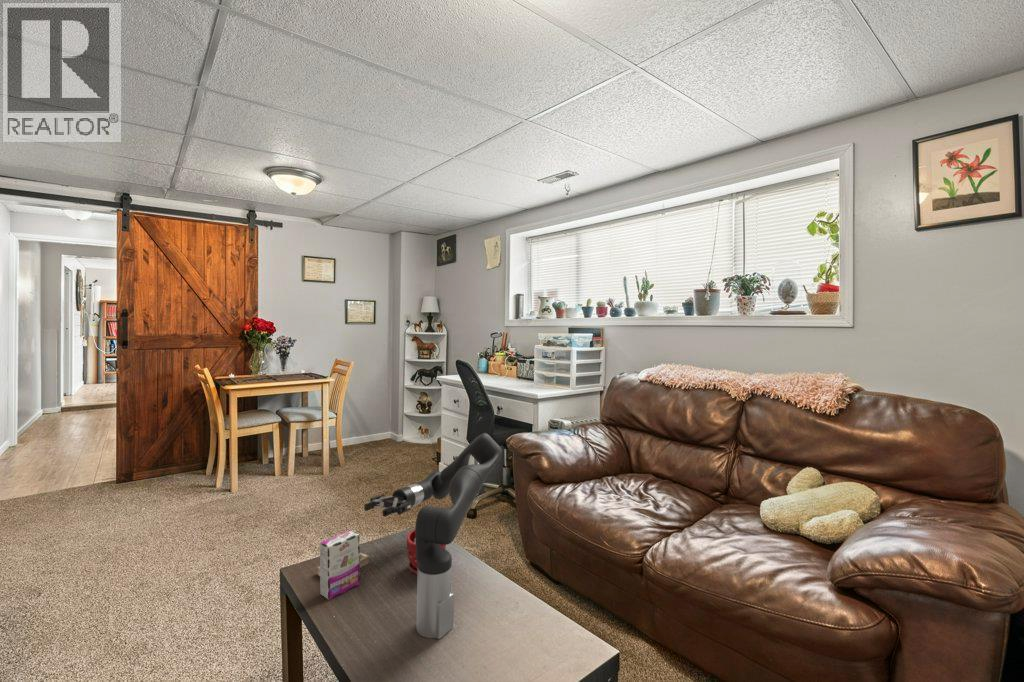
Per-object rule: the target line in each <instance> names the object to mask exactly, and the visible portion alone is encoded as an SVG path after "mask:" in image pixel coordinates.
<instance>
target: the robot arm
mask: <svg viewBox="0 0 1024 682" xmlns="http://www.w3.org/2000/svg"><path fill="white" fill-rule="evenodd" d="M502 455H503V449H502V448H501V446H500V445H499V444H498V443H497V442H496V441H495V440H494V439H493V438H492V437H491V436H490V435H489V434H488V433H486V432H483V433H480V434H479V435H477V436H476V437H475V438H474V439H473V440H472V441H471V442H470V443H469V444H468V445H467V446H466V447H465V449H463V450H462V451H461V453H460V454H459V455H458V456H457V457H456V458H455V459H454V460H453V461H452V462H451V463H449V464H448V465H447V466H446V467H444V469H442V470H441V471H440V470H439V471H438V470H435V471H432V472H431V473H430V474H428V476H427V477H426V478H425V479H423V480H421V481H419V482H416V483H414V484H410V485H405V486H404V487H400V488H399V489H398V488H397V489H396V490H395V491H394V492H393V493H392V495H388V496H385V494H380V495H376V496H374V497H370V501H369V502H367V503H365V504H364V507H363V508H364V509H363V510H364V511H366V512H367V511H368V512H369V510H372V509H375V508H379V509H383V510H382V517H387V516H390V515H395V514H397V515H398V516H399V515H402V514H404V513H407V512H409V511H410V510H411V508H414V507H415V506H417V505H419V504H420V503H423V502H426V501H427V500H430V499H431V498H432V497H433V498H434V499H435V500H443V499H445V498H446V497H447V496H448V495H449V497H450V500H451V502H452V505H451V506H450V507H442V506H441V507H439V506H433V505H425V506H422V507H421V508H420V510H419V511H418V513H417V515H416V519H415V527H414V530H415V537H416V538H415V543H416V559H417V563H418V565H417V574H416V575H417V576H416V579H417V580H416V632H417V633H418V635H420V636H421V637H423V638H427V639H437V640H440V639H442V638H443V637H444V636H445V635H446V634H447V633H448V632H450V631H451V630H452V629H453V628H454V617H455V614H454V613H455V611H454V610H455V606H454V605H455V594H454V593H453V592H452V566H453V565H452V562H453V561H452V560H453V559H452V554H451V553H450V552H449V551H448V550H447V549H444V548H442V547H441V546H440V545H439V544H442V545H446V546H447V545H450V544H451V543H452V542H453V541H454V540H455V538H456V536H457V534H458V533H459V530H460V528H461V526H462V523H463V521H464V519H465V517H466V514H467V513H468V511H469V509H470V507H471V505H472V503H473V502H474V501H475V499H476V497H477V496H478V494H479V493H480V490H481V489H482V487H483V485H484V483H485V481H486V479H487V477H488V476H489V474H490V473H491V472H492V470H493V469H494V468H495V466H496V465H497V463H498V462H499V460H501V459H502ZM471 456H472V457H473V458H474V459H475V461H477V462H478V463H479V464H476V463H475V464H470V458H471Z"/></svg>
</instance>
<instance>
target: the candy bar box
mask: <svg viewBox="0 0 1024 682" xmlns="http://www.w3.org/2000/svg"><path fill="white" fill-rule="evenodd" d="M359 553H361V552H360V534H359V533H358V532H355V531H354V530H352V529H351V530H349V531H346V532H343V533H341V534H337V535H336V536H334V537H331V538H328V539H326V540H323V541H322V542H320V543H319V566H320V576H319V582H320V583H319V585H320V586H319V589H320V590H319V591H320V596H321V595H322V597H323V596H324V597H323V598H325V599H326V600H328V601H330V600H332V599H334V598H337V597H339V596H340V595H342V594H344V593H346V592H347V591H349V590H352V589H353V588H355V587H357V586H359V585H361V584H360V583H361V582H360V580H361V578H360V575H361V574H360V573H361V572H360V570H361V568H360V561H359V556H360V554H359Z"/></svg>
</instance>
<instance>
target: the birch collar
mask: <svg viewBox="0 0 1024 682" xmlns="http://www.w3.org/2000/svg"><path fill="white" fill-rule="evenodd" d="M359 554H360V556H359V561H360V569H361V568H363V567H365V566H367V565H369V564H370V555H368V554H366V553H362V552H360V553H359ZM316 575H317V576H318V577H320V565H318V566H317V567H316Z"/></svg>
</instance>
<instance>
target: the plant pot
mask: <svg viewBox="0 0 1024 682" xmlns="http://www.w3.org/2000/svg"><path fill="white" fill-rule="evenodd" d="M415 540H416V537H415V529H413V530H412V531H410V532H409V533H408V534H407V536H406V551H407V557H408V560H409V563H408V568H409V570H410V571H411V572H412V573H413V574H415V575H417V565H418V563H417V559H416V542H415ZM439 545H440V546H441V547H442V548H444V549H445V550H447V547H446V546H447V545H442V544H439Z"/></svg>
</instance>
